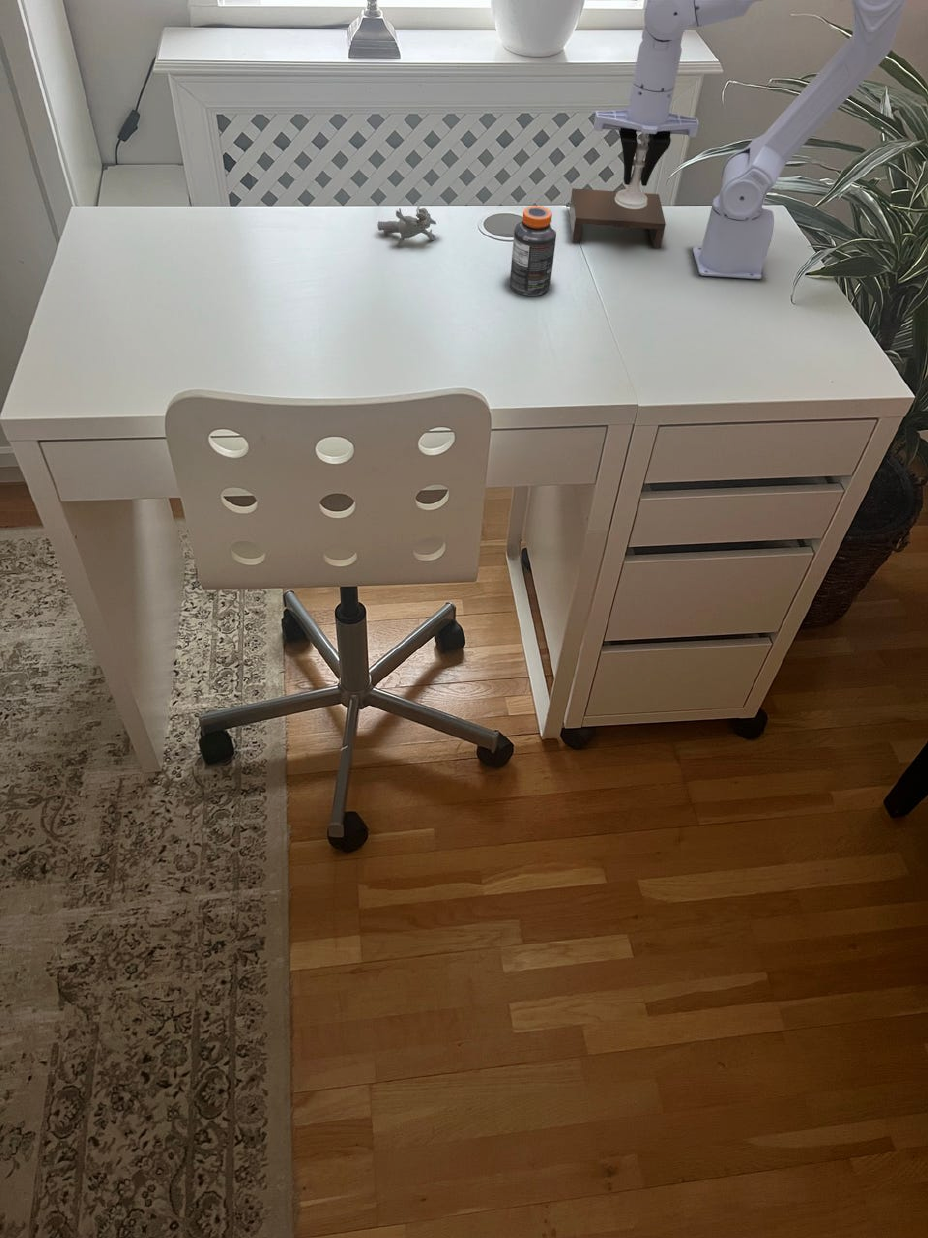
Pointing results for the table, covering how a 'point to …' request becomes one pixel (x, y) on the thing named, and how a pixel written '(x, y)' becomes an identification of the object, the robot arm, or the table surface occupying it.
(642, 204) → the chess piece
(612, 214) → the walnut shelf
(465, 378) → the table surface
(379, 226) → the grey creature figurine
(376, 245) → the table surface
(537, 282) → the pill bottle
